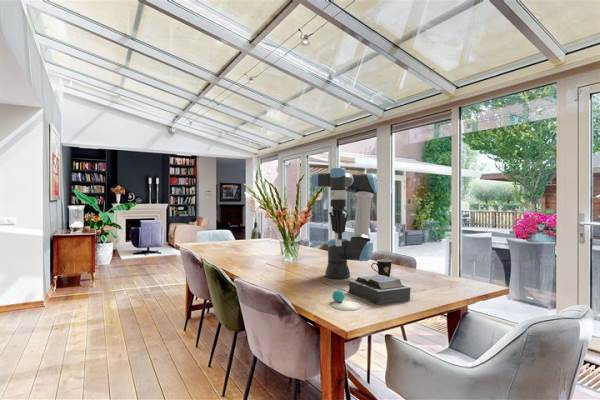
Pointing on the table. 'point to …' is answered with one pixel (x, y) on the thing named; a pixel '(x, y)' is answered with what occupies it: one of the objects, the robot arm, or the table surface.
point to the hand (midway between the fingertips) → (338, 245)
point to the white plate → (346, 305)
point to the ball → (338, 296)
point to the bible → (380, 289)
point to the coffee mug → (383, 267)
